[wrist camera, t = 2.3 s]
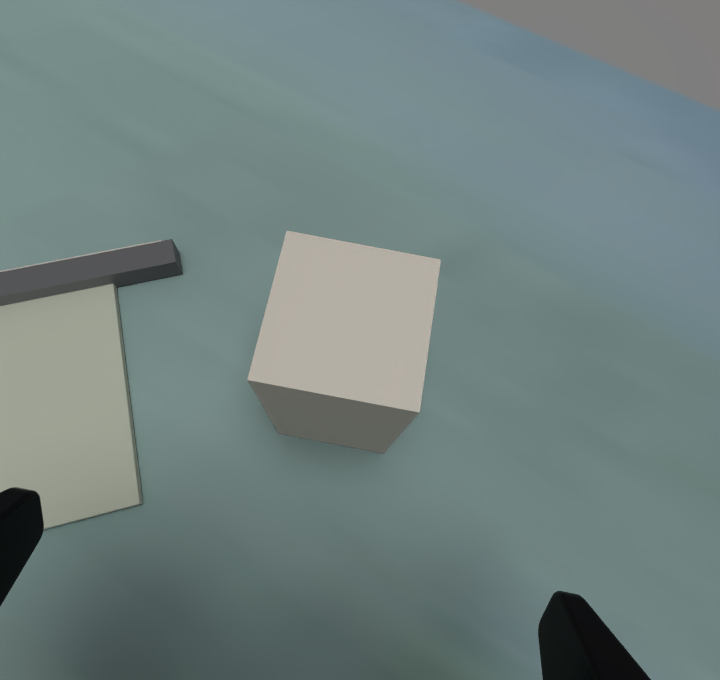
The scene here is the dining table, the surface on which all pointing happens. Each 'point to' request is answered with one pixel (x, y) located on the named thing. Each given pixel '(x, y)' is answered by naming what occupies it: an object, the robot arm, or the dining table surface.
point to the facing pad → (67, 405)
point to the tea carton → (345, 341)
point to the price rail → (91, 271)
